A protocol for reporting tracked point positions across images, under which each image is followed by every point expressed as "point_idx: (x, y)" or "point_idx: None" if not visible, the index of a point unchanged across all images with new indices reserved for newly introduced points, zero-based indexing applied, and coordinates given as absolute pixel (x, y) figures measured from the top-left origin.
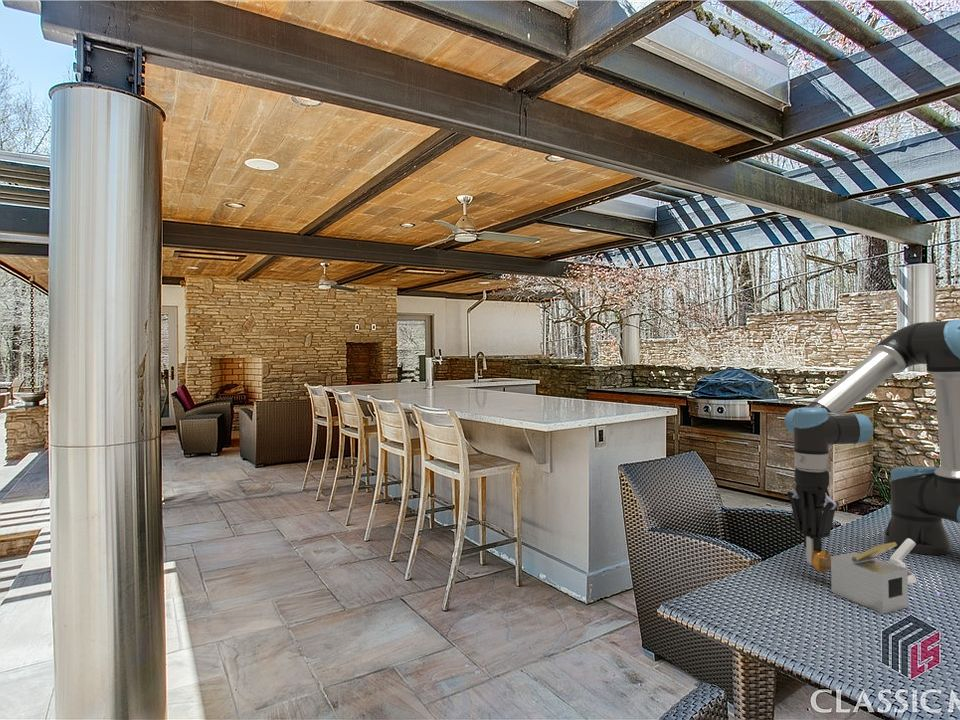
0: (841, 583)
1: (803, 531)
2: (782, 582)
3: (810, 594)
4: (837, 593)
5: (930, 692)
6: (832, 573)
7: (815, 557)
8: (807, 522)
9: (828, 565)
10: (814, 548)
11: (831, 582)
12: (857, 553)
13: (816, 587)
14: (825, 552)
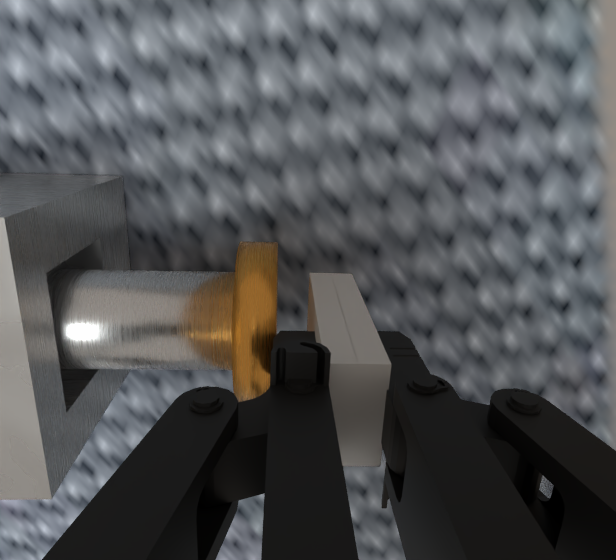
0: (16, 184)
1: (442, 394)
2: (353, 33)
3: (142, 25)
4: (81, 176)
5: None
6: (65, 193)
7: (252, 266)
8: (433, 504)
9: (160, 274)
10: (305, 339)
11: (102, 184)
12: (11, 485)
13: (211, 163)
14: (233, 368)
